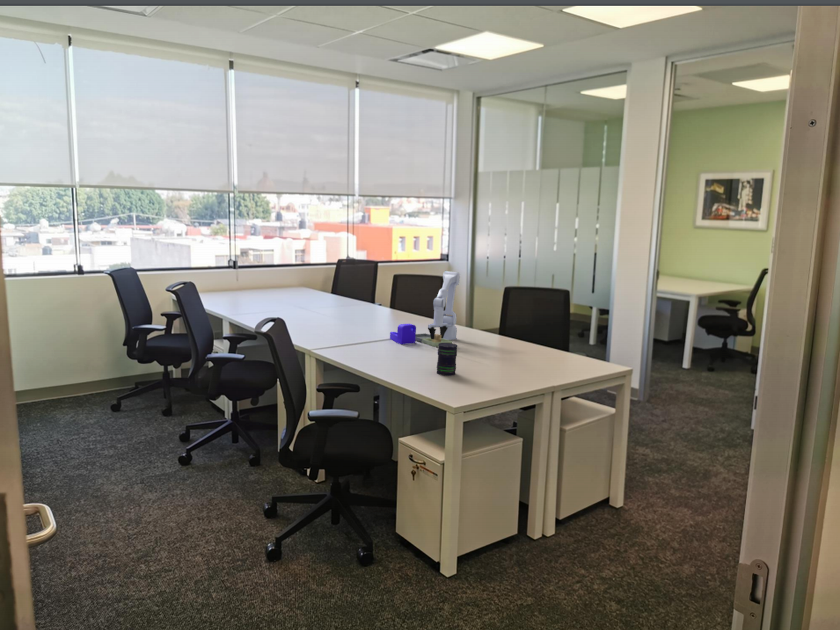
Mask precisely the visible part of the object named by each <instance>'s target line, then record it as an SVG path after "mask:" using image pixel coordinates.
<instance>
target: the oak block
mask: <svg viewBox="0 0 840 630" xmlns="http://www.w3.org/2000/svg"><path fill="white" fill-rule="evenodd" d="M432 342H435V343H436V342H441V335H440V333H435V336H434V339H432Z"/></svg>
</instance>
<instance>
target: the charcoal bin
mask: <svg viewBox="0 0 840 630" xmlns="http://www.w3.org/2000/svg"><path fill="white" fill-rule="evenodd" d="M426 338H431V336H430V333H426V332H425V333H416V338H415V342H418V343H422V339H426Z"/></svg>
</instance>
